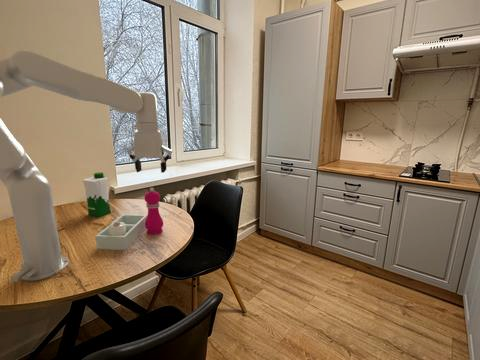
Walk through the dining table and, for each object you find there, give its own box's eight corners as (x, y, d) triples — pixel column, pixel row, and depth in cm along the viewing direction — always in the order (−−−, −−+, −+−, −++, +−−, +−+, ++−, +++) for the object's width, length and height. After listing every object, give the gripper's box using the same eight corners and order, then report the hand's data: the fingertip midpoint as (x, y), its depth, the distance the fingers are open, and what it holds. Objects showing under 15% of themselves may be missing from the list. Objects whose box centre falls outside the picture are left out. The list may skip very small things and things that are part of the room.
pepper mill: (142, 233, 107) (138, 187, 102) (158, 228, 113) (155, 184, 107) (151, 239, 103) (147, 191, 98) (167, 233, 108) (164, 187, 103)
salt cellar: (122, 246, 95) (120, 224, 93) (107, 245, 96) (105, 224, 93) (129, 238, 101) (127, 218, 99) (115, 238, 101) (113, 218, 99)
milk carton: (113, 212, 130) (109, 173, 125) (98, 218, 122) (92, 177, 117) (101, 209, 133) (96, 171, 128) (84, 215, 125) (79, 175, 120)
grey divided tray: (126, 252, 93) (124, 237, 92) (97, 251, 93) (95, 236, 92) (148, 228, 113) (147, 215, 111) (124, 227, 113) (122, 214, 112)
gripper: (120, 127, 93) (125, 173, 98) (167, 128, 93) (170, 174, 97) (129, 126, 101) (133, 169, 105) (173, 126, 100) (175, 170, 104)
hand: (151, 171), depth 101 cm, fingers open, 9 cm apart
